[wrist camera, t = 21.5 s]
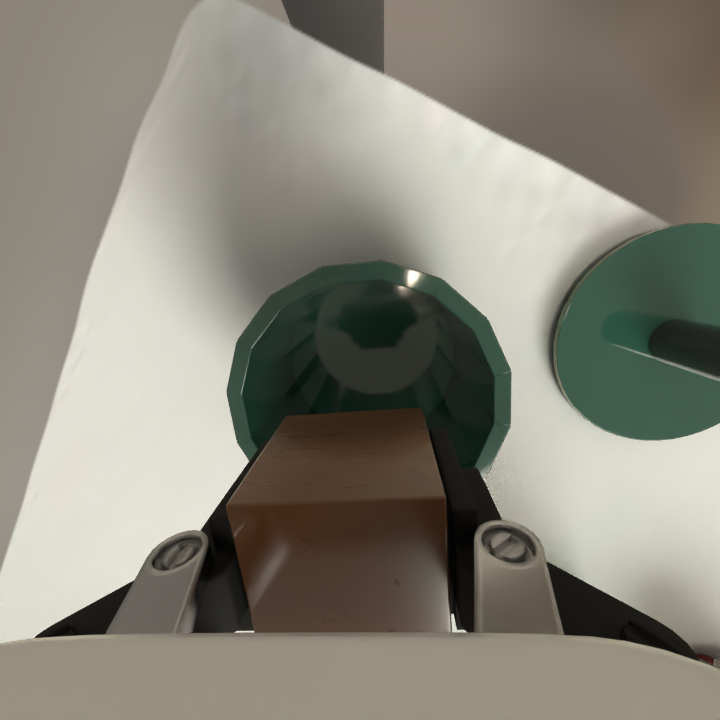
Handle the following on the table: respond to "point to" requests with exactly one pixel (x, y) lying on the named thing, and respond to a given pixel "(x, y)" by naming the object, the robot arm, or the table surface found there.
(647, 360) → the lid
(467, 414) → the pot
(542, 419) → the table surface
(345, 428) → the block
